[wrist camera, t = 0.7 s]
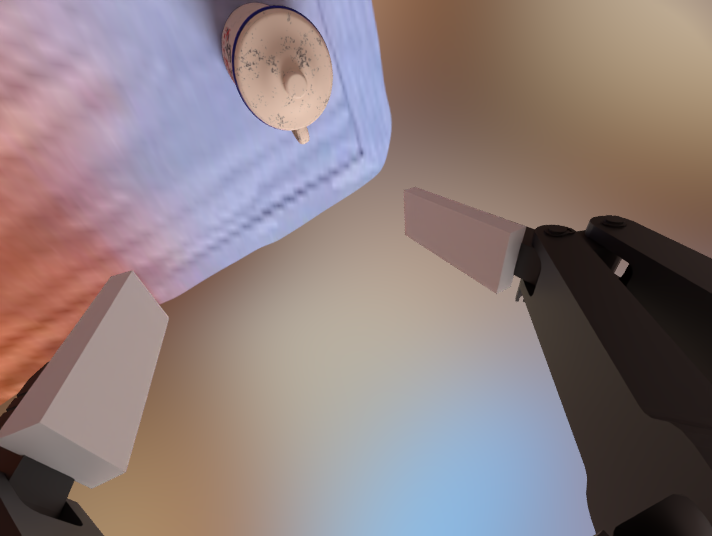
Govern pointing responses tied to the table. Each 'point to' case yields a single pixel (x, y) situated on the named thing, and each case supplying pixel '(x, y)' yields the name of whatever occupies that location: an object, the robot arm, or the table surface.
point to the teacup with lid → (278, 65)
